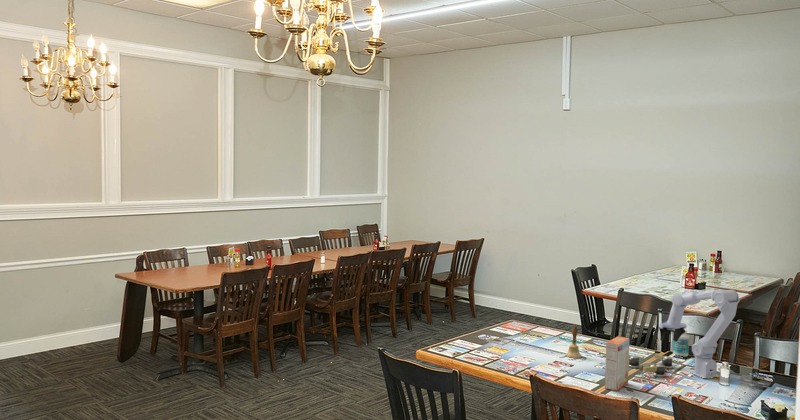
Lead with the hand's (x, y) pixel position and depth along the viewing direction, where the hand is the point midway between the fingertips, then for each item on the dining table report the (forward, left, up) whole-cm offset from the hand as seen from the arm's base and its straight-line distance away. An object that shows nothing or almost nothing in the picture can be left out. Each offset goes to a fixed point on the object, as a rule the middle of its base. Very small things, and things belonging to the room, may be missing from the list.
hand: (668, 340), depth 321 cm
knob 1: (0, +23, -10) cm, 25 cm away
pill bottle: (+10, -16, -11) cm, 22 cm away
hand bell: (+20, +41, -12) cm, 47 cm away
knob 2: (-3, +5, -10) cm, 12 cm away
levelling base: (-9, +13, -11) cm, 20 cm away
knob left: (-16, +20, -10) cm, 28 cm away
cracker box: (-25, +46, -11) cm, 54 cm away
